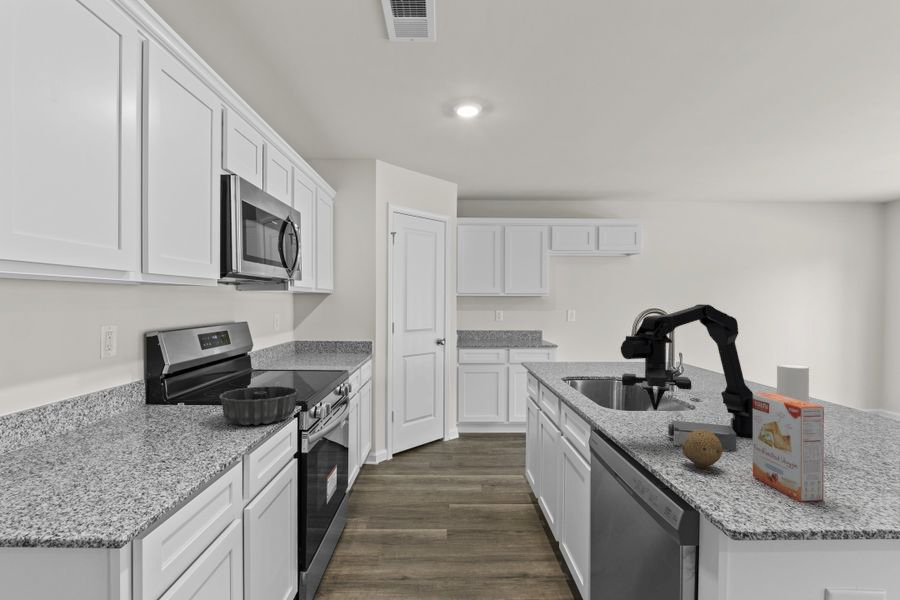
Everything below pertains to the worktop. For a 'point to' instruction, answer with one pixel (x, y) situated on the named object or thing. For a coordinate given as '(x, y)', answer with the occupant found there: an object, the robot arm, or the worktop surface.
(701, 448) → the potato
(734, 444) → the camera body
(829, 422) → the worktop surface
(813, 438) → the cracker box
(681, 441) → the side cover
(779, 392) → the cylindrical container
